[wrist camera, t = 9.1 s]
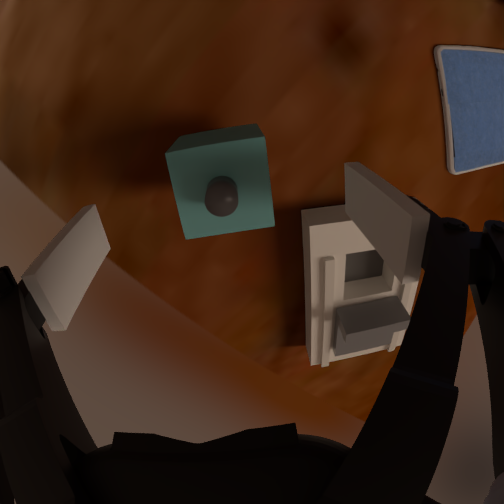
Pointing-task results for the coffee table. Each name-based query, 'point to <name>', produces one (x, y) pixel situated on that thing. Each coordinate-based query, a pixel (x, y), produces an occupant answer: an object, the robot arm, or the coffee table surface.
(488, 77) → the blue flat panel
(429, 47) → the coffee table surface
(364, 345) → the shutter
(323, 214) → the grey tray
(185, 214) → the plug
